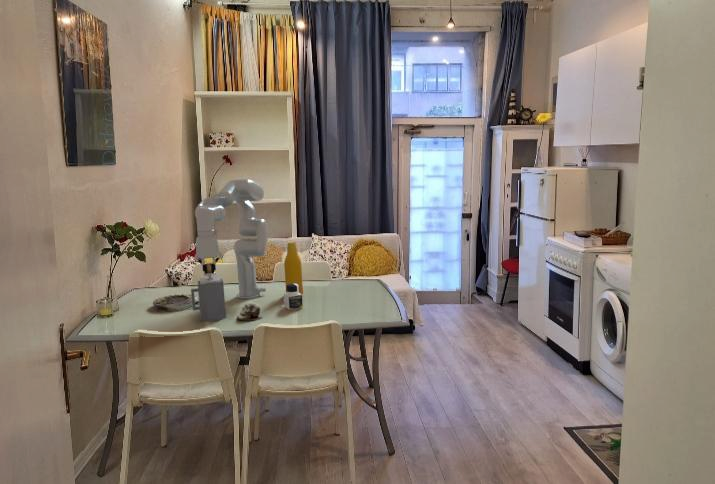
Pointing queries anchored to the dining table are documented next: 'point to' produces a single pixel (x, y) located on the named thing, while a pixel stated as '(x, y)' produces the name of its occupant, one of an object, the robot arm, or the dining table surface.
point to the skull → (250, 312)
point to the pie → (174, 302)
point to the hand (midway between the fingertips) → (209, 272)
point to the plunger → (209, 270)
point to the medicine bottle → (293, 297)
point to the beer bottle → (293, 267)
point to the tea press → (210, 299)
